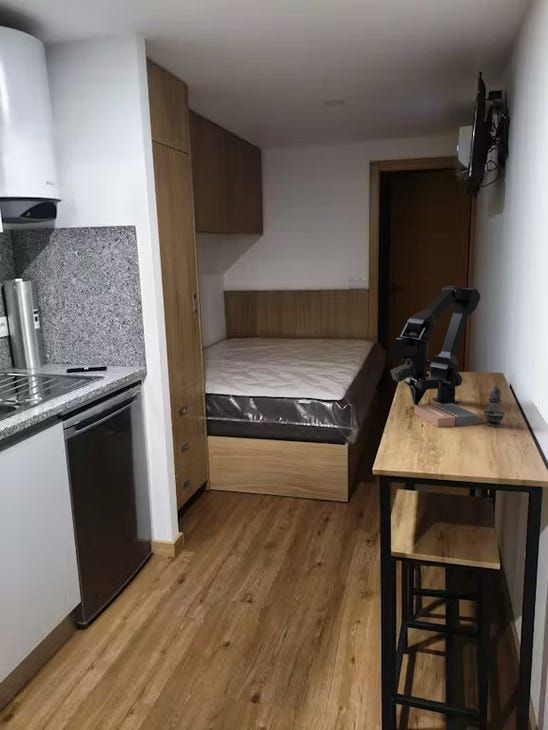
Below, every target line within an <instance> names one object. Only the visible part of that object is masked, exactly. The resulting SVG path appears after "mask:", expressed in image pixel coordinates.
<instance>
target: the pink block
mask: <svg viewBox="0 0 548 730" xmlns="http://www.w3.org/2000/svg"><path fill="white" fill-rule="evenodd" d="M432 405H433V404H427V405H425V404H423V405H414V415H416V416H417V417H420V418H421V419H423V420H425V421H426V422H428V423H430V424H432V425H433V426H435V427H437V428H438V427H439V428H441V427H453V426H456V425H455V417H454V416H452V415H450V414H448V413H446V412H444V411H442V410H440V409H438V408H436V407H434V406H432Z"/></svg>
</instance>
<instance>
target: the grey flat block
mask: <svg viewBox="0 0 548 730" xmlns="http://www.w3.org/2000/svg"><path fill="white" fill-rule="evenodd" d="M431 405H432V406H434V407H436V408H438V409H440V410H442V411H444V412H446V413H448V414H450V415H452V416H454V417H455V426H464V425H465V426H467V425H477V424H478V421H479V420H478V419H479V415H478V414H476V413H473V412H472V411H469V410H467V409H465V408H463V407H461V406H460V405H457V404H456V403H449V404H441V403H436V404H431Z"/></svg>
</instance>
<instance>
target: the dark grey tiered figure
mask: <svg viewBox="0 0 548 730" xmlns="http://www.w3.org/2000/svg"><path fill="white" fill-rule="evenodd" d="M501 393H502V390H501V389H500V388H499V387H498V385H497V384H495V385H494V387H492V388H490V393H489V394H490V395H489V398H488V401H489V402H488V408H487V409H485V410H483V416H484V419H485V420H486V421H484V422H483V425H484V426H486V427H490V426H493V427H492V428H501V426H502V427H503V426H504V424H503V423H501V421H502V420H503V419H504V416H505V415H506V413H505V412H504V411H502V410H501V402H502V399H501Z"/></svg>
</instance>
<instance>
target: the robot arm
mask: <svg viewBox="0 0 548 730" xmlns="http://www.w3.org/2000/svg"><path fill="white" fill-rule="evenodd" d="M480 300H481V293H480V292H479V290H478V289H477V288H468V287H466V288H465V287H459V286H456V285H446V286H444V287H443V288H442V291H441V292H440V293H439V294H438V295H437V296H436V297H435V298H434V300H432V301H431V303H429V304H428V306H427V307H426V308H425V309H423V310H421V311H419V312H416V313H415V314H413V315H412V316H410V317H409V318H408V320H407V322H406V324H405V326H404V328H403V330H402V332H401V334H400V336H399V337H396V338H395V342H393V343H392V344H391V345H390V349H389V352H390V353H389V354H390V356H391V357H392V359H394V360H395V361H396V362H397V361H404V360H405V363H404V364H402V365H398V366H397V367H394V368H393V369H392V368H391V370H390V374H391V377H392V380H393V381H396V382H397V383H399V382H400V383H401V382H403V383H404V384H405V385H406V386H407V387H409V391H410V396H411V399H412V402H413V405H414V406H419V404H420V403H421V400H422V398H423V397H424V395H425V393H426V392H427V391H428V390H436V397H433V398H432V400H433V402H436V403H438V404H451V403H453V404H459V400H456V387H460V386H461V385H462V382H463V377H462V376H461V374H460V372H459V370H458V369H459V363H458V358H457V355H458V352H459V348H460V346H461V342H462V337H463V335H464V332H465V329H466V325H467V322H468V319H469V316H470V315H471V314H472V313H474V312H475V311H476V309H477V307H478V304H479V302H480ZM450 306H451V308H452V310H453V313H452V315H451V320H450V323H449V326H448V329H447V332H446V335H445V339H444V342H443V346H442V348H441V350H440V351H441V352H440V353H439V354H438V355H433V356H432V360H431V361H430V360H429V359H428V357H429V356H428V355H429V343H432V342H433V339H432V338H431V336H430V335H431V334H432V333H433V331H434V330H435V328H436V326H437V325H436V324H437V323H436V322H437V320H438V319H439V318H440V317H441V316H442V315H443V314H444V313H445V312H446V310H448V308H449V307H450ZM428 365H429V367H430V368H429V373H428Z"/></svg>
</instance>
